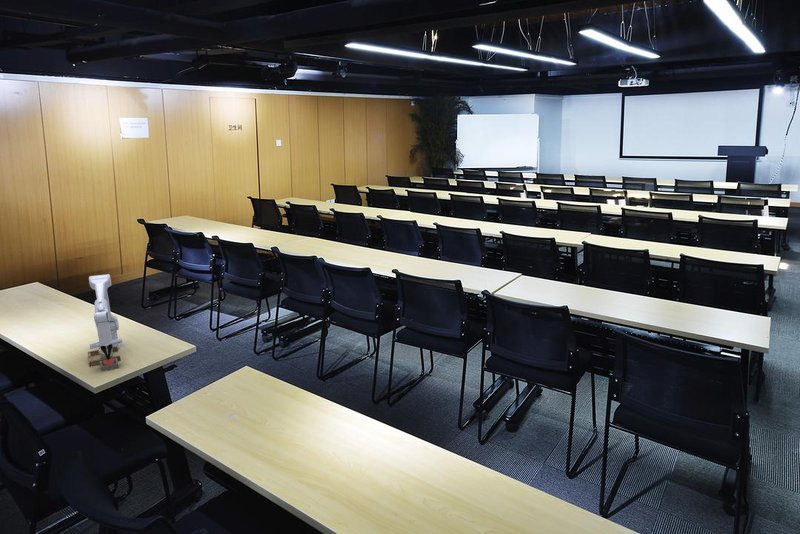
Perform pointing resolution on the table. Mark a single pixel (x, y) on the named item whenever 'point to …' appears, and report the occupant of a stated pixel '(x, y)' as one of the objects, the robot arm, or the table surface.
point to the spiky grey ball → (103, 353)
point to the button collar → (109, 367)
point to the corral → (97, 362)
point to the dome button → (108, 361)
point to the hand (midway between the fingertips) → (108, 358)
